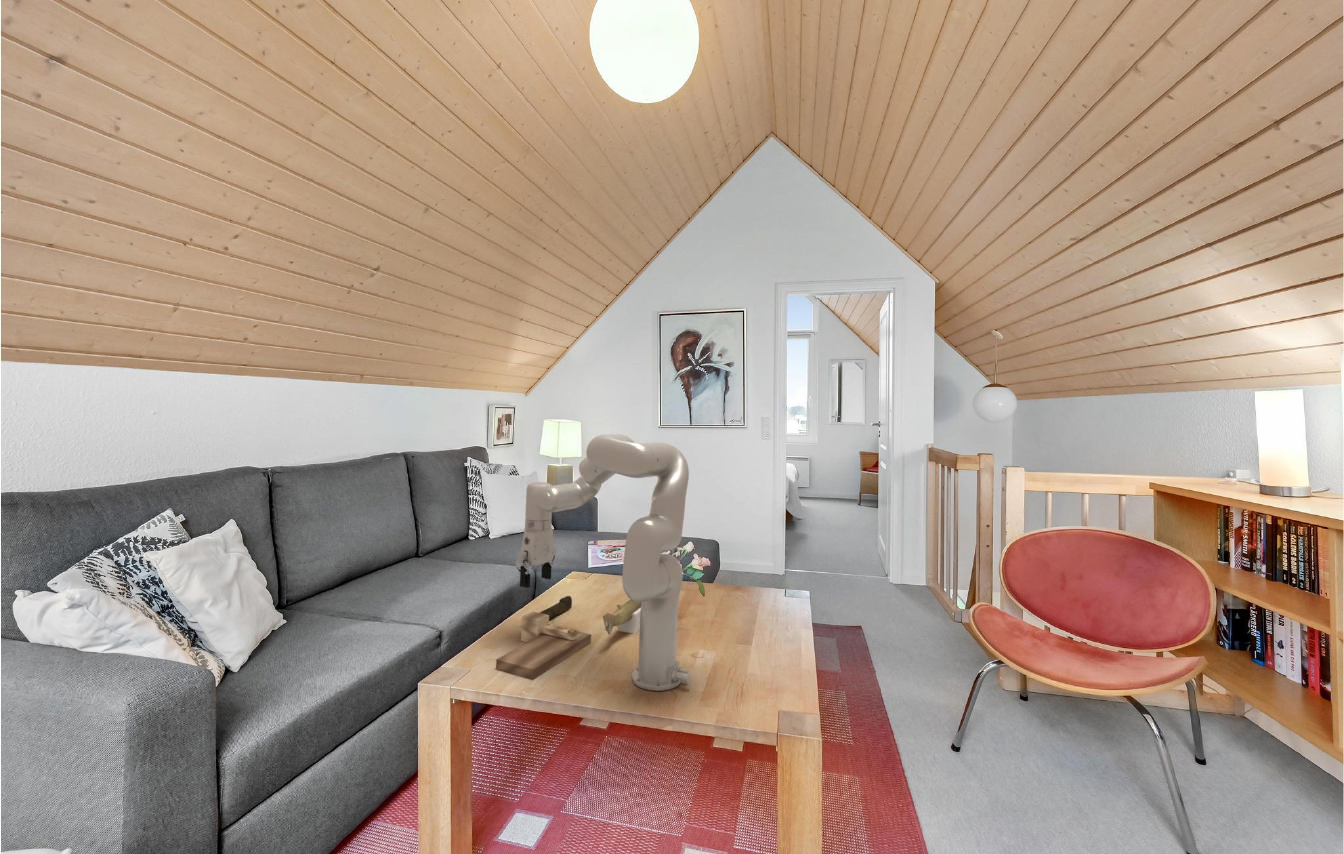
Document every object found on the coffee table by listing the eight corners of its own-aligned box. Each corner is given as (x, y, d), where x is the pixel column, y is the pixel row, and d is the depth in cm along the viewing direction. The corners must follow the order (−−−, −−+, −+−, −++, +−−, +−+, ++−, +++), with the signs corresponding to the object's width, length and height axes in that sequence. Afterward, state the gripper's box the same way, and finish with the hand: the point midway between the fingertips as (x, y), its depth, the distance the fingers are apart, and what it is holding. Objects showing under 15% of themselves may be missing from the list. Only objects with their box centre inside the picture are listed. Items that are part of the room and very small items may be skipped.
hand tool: (543, 626, 172) (543, 612, 172) (533, 624, 174) (533, 609, 174) (578, 609, 189) (578, 595, 189) (568, 607, 191) (569, 593, 191)
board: (590, 642, 160) (591, 634, 160) (533, 679, 137) (533, 669, 137) (557, 634, 165) (557, 626, 165) (496, 668, 142) (496, 659, 142)
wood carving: (588, 650, 155) (589, 611, 155) (636, 611, 188) (637, 578, 188) (617, 656, 152) (618, 615, 152) (660, 615, 185) (661, 582, 185)
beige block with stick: (579, 646, 158) (580, 621, 158) (569, 652, 153) (570, 627, 153) (532, 634, 165) (532, 611, 165) (520, 640, 160) (521, 616, 160)
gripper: (529, 531, 152) (526, 592, 152) (566, 521, 167) (563, 577, 168) (507, 527, 155) (505, 588, 155) (546, 518, 171) (544, 573, 171)
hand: (535, 582), depth 161 cm, fingers open, 9 cm apart
